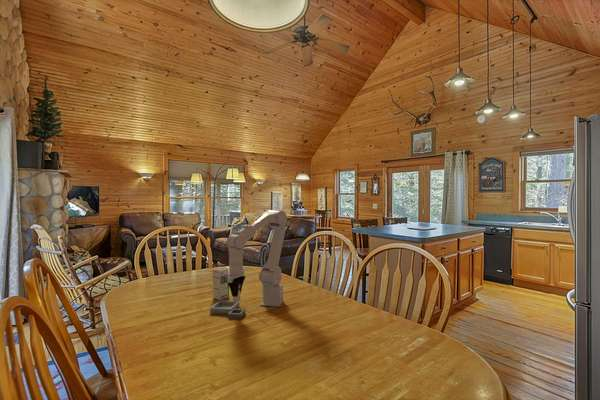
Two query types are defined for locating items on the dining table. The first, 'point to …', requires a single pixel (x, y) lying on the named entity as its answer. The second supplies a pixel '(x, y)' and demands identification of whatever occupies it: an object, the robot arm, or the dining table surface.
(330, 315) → the dining table surface
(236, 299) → the cylinder
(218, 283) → the syrup box
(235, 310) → the fuse socket
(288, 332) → the dining table surface
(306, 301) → the dining table surface
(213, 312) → the parts tray
